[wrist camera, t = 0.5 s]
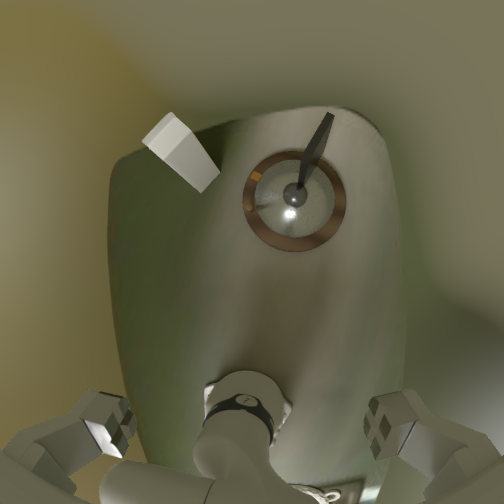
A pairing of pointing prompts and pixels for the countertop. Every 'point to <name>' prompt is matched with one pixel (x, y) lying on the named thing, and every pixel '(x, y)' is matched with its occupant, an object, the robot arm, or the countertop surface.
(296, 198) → the grey finned round piece
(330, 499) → the medallion
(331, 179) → the post base
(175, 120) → the milk
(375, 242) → the countertop surface
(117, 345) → the countertop surface
